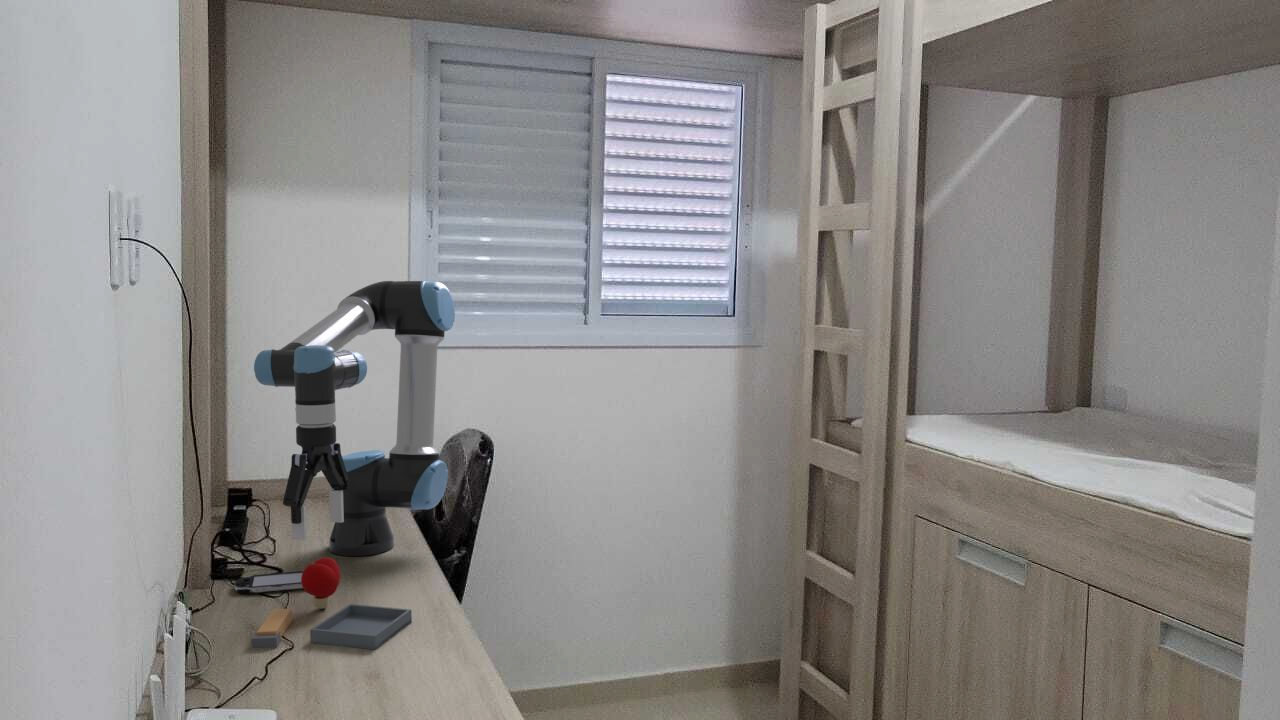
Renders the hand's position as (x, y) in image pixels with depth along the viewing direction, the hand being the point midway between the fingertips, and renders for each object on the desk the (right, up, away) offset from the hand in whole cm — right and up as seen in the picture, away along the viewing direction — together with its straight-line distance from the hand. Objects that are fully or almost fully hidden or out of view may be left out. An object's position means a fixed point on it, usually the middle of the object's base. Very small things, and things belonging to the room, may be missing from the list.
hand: (318, 530), depth 205 cm
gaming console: (-13, -15, +17) cm, 26 cm away
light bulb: (0, -16, +2) cm, 17 cm away
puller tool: (-5, -18, -10) cm, 21 cm away
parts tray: (+11, -18, -10) cm, 23 cm away
